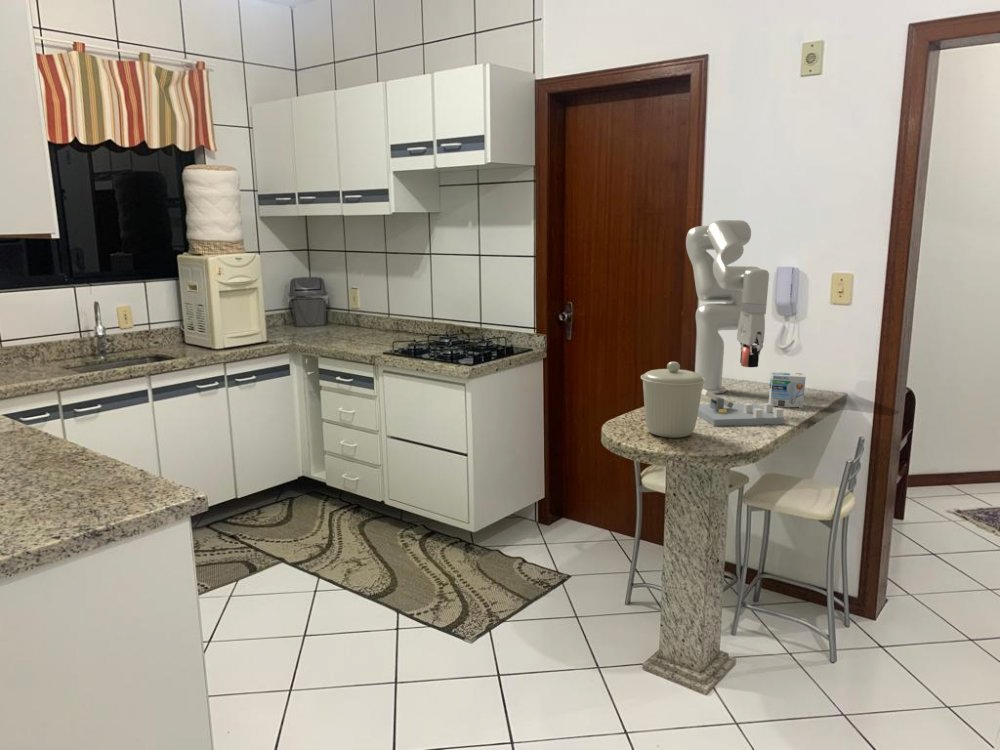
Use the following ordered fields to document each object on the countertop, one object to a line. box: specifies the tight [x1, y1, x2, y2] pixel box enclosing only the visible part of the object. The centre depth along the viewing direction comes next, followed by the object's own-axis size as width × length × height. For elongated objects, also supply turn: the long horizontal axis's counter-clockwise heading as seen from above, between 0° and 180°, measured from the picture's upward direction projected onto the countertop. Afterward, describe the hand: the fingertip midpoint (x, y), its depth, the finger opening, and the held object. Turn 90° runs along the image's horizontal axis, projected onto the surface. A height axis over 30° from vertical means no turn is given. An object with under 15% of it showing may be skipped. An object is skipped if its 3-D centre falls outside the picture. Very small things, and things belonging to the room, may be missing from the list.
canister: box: [640, 361, 706, 439], centre depth 219 cm, size 18×18×21 cm
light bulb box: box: [767, 371, 807, 409], centre depth 256 cm, size 11×7×11 cm, turn 76°
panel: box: [697, 394, 785, 427], centre depth 240 cm, size 19×22×6 cm
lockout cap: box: [740, 345, 755, 368], centre depth 245 cm, size 5×5×7 cm
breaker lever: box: [701, 389, 734, 408], centre depth 242 cm, size 4×10×2 cm, turn 97°
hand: (748, 364), depth 246 cm, fingers closed on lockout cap, 4 cm apart
